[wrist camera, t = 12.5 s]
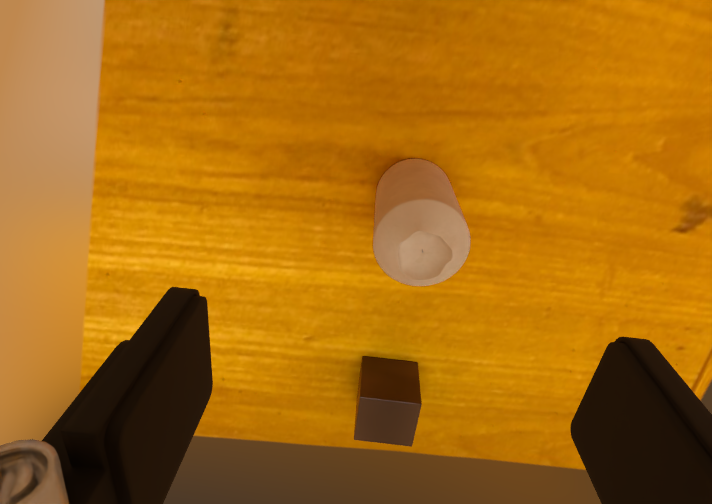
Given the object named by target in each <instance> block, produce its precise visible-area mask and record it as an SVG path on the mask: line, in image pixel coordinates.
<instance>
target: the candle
mask: <svg viewBox="0 0 712 504" xmlns="http://www.w3.org/2000/svg"><path fill="white" fill-rule="evenodd" d="M373 249H374V254H375V258H376V260H377V262H378V264H379V265H380V267H381V268H382V270H383V271H384V272H385V273H386V274H387V275H389V276H390V277H391V278H393V279H395V280H396V281H398V282H401V283H404V284H407V285H412V286H428V285H433V284H436V283H440V282H442V281H444V280H446V279H448V278H449V277H451V276H452V275H453V274H455V273H456V272H457V271H458V270H459V269H460V268H461V266H462V265H463V264H464V262H465V260H466V258H467V256H468V253H469V250H470V233H469V229H468V226H467V224H466V221H465V219H464V216H463V214H462V211H461V209H460V206H459V204H458V201H457V199H456V196H455V194H454V191H453V189H452V186H451V184H450V182H449V180H448V178H447V176H446V174H445V173H444V172H443V171H442V170H441V169H440V168H439V167H438V166H437V165H435V164H433V163H432V162H429V161H427V160H423V159H407V160H403V161H400V162H398V163H396V164H394V165H393V166H391V167H390V168H389V169H388V170H387V171H386V172H385V173H384V174H383V176H382V178H381V179H380V181H379V183H378V186H377V191H376V201H375V218H374V235H373Z"/></svg>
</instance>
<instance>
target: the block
mask: <svg viewBox="0 0 712 504" xmlns="http://www.w3.org/2000/svg"><path fill="white" fill-rule="evenodd" d="M420 409H421V394H420V383H419V372H418V363H417V362H410V361H401V360H393V359H384V358H375V357H367V356H363V357H362V364H361V371H360V379H359V386H358V394H357V405H356V418H355V431H354V440H361V441H370V442H378V443H387V444H395V445H404V446H412V444H413V440H414V435H415V431H416V426H417V422H418V417H419V413H420Z"/></svg>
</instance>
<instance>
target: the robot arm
mask: <svg viewBox="0 0 712 504" xmlns="http://www.w3.org/2000/svg"><path fill="white" fill-rule="evenodd" d="M212 385H213V381H212V367H211V353H210V338H209V324H208V309H207V300H206V297H202V296H200V295H199V292H198V290H196V289H187V288H178V287H171V288H170V289H169V290H168V291H167V292H166V294H165V295H164V296H163V297H162V299H161V300H160V301H159V303H158V304H157V305H156V307H155V308H154V309H153V310H152V312H151V313H150V314H149V316H148V317H147V318H146V320H145V321H144V322H143V324H142V325H141V326H140V327H139V329H138V330H137V331H136V333H135V334H134V335H133V337H132V338H131V339H130V340H125V341H123V342H121V343H120V344H119V345H118V346H117V347H116V348H115V349H114V350H113V352H112V353H111V354H110V355H109V357H108V358H107V359H106V360H105V362H104V363H103V364H102V366H101V367H100V368H99V369H98V371H97V372H96V373H95V374H94V376H93V377H92V378H91V379H90V381H89V382H88V383H87V384H86V386H85V387H84V388H83V390H82V391H81V392H80V393H79V395H78V396H77V397H76V398H75V400H74V401H73V402H72V404H71V405H70V406H69V407H68V409H67V410H66V411H65V412H64V414H63V415H62V416H61V417H60V419H59V420H58V421H57V422H56V424H55V425H54V426H53V427H52V429H51V430H50V431H49V432H48V434H47V435H46V436H45V437H44V439H43V440H42V441H38V440H33V439H32V440H19V441H14V442H11V443H7V444H4V445H1V446H0V504H163V502H164V500H165V498H166V495H167V493H168V491H169V489H170V487H171V484H172V482H173V480H174V477H175V475H176V473H177V471H178V468H179V466H180V464H181V462H182V460H183V457H184V455H185V453H186V451H187V448H188V446H189V444H190V442H191V439H192V437H193V435H194V433H195V430H196V428H197V426H198V424H199V421H200V419H201V417H202V415H203V412H204V410H205V408H206V405H207V403H208V401H209V399H210V396H211V392H212ZM571 436H572V439H573V441H574V444H575V446H576V448H577V450H578V452H579V455H580V457H581V459H582V461H583V463H584V466H585V468H586V470H587V472H588V474H589V477H590V479H591V481H592V483H593V486H594V488H595V490H596V492H597V494H598V497H599V499H600V501H601V503H602V504H712V414H711V413H710V412H709V411H708V410H707V409H706V407H705V406H704V405H703V404H702V402H701V401H700V400H699V399H698V398H697V396H696V395H695V394H694V393H693V392H692V390H691V389H690V388H689V387H688V385H687V384H686V383H685V382H684V381H683V379H682V378H681V377H680V376H679V375H678V373H677V372H676V371H675V370H674V369H673V367H672V366H671V365H670V364H669V363H668V361H667V360H666V359H665V358H664V356H663V355H662V354H661V353H660V352H659V350H658V349H657V348H656V347H655V346H654V344H653V343H652V342H650V341H649V340H646V339H639V338H629V337H619V338H618V339H616V341H615V342H611V343H610V344H609V345H608V346H607V348H606V350H605V352H604V354H603V356H602V358H601V361H600V363H599V365H598V367H597V369H596V371H595V373H594V375H593V378H592V380H591V382H590V384H589V386H588V388H587V390H586V392H585V395H584V397H583V399H582V401H581V403H580V405H579V407H578V409H577V412H576V414H575V416H574V418H573V420H572V423H571Z"/></svg>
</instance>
